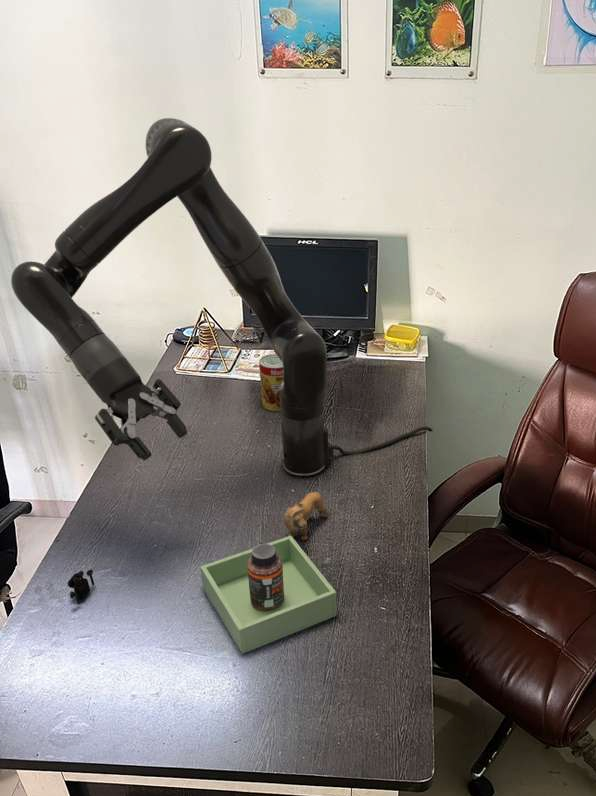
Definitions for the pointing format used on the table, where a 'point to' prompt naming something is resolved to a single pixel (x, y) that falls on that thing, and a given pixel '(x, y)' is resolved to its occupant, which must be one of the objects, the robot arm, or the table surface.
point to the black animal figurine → (80, 585)
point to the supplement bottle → (265, 578)
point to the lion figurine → (303, 513)
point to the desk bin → (254, 627)
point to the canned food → (271, 381)
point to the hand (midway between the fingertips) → (166, 446)
